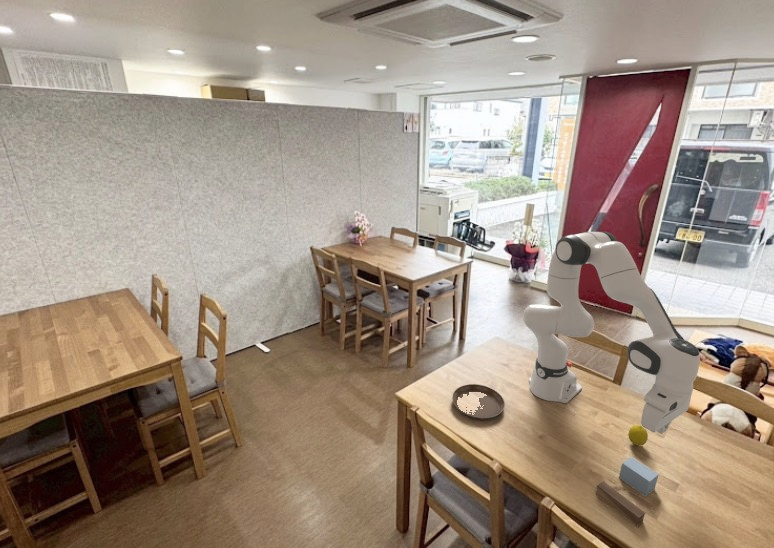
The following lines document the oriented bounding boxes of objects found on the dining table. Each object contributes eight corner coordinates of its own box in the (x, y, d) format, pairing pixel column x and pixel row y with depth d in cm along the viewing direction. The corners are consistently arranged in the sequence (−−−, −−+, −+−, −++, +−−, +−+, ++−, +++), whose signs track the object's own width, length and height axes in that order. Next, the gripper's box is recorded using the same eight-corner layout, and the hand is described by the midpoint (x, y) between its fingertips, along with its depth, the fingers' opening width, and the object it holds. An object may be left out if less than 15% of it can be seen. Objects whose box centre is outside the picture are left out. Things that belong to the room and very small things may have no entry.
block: (627, 471, 122) (631, 456, 120) (654, 489, 115) (658, 474, 113) (618, 477, 120) (622, 462, 118) (645, 496, 113) (649, 481, 111)
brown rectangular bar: (601, 489, 116) (603, 481, 114) (642, 521, 106) (645, 512, 104) (595, 494, 114) (597, 485, 113) (636, 527, 104) (639, 517, 103)
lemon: (642, 440, 134) (647, 422, 131) (647, 452, 129) (651, 433, 126) (624, 437, 136) (629, 419, 133) (628, 448, 131) (633, 429, 128)
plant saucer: (515, 415, 148) (516, 408, 147) (470, 430, 141) (470, 422, 140) (483, 385, 166) (484, 379, 165) (442, 397, 159) (443, 391, 158)
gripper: (677, 377, 118) (668, 413, 123) (641, 397, 109) (632, 436, 113) (701, 387, 113) (690, 425, 117) (665, 410, 104) (654, 450, 108)
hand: (661, 431), depth 115 cm, fingers closed
